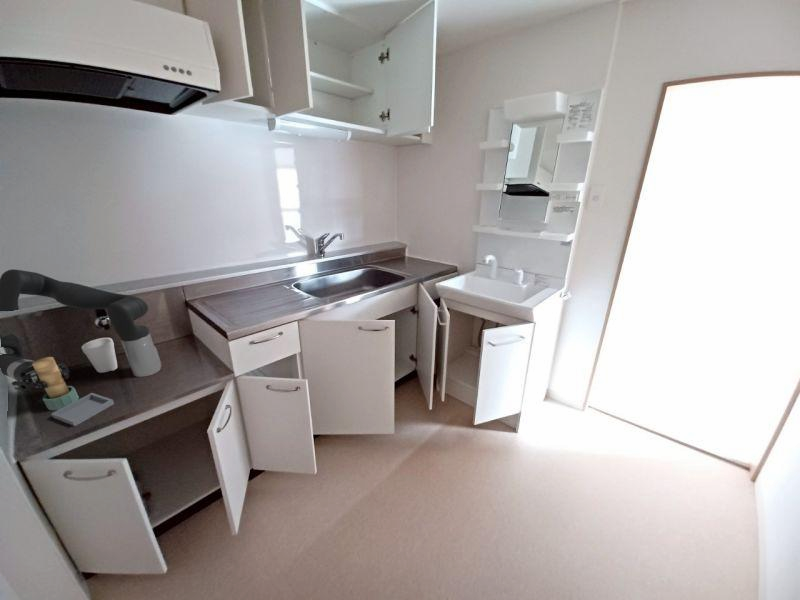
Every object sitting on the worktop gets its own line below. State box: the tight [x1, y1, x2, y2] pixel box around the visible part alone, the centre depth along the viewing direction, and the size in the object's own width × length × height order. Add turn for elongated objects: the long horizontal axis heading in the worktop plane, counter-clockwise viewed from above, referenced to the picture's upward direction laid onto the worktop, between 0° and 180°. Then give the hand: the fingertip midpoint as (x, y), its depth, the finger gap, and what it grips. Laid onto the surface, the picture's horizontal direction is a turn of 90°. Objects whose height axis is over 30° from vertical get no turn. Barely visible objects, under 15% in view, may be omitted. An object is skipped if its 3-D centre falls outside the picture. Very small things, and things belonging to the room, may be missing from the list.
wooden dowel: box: [32, 356, 70, 399], centre depth 109 cm, size 5×5×18 cm
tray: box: [50, 392, 115, 427], centre depth 109 cm, size 12×12×2 cm
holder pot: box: [41, 385, 80, 411], centre depth 112 cm, size 8×8×5 cm
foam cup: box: [81, 337, 118, 374], centre depth 131 cm, size 10×9×13 cm
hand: (56, 380), depth 108 cm, fingers closed on wooden dowel, 5 cm apart
